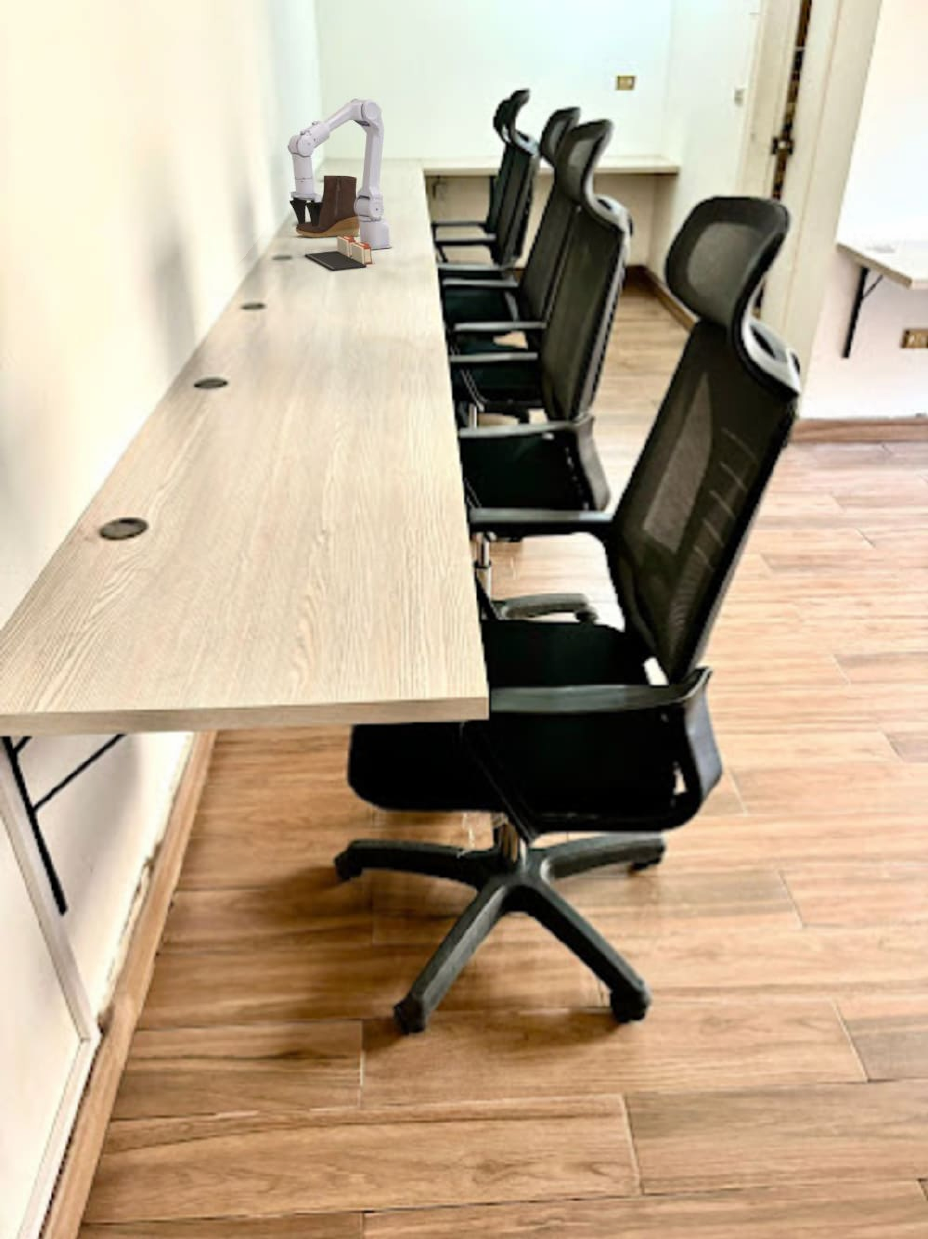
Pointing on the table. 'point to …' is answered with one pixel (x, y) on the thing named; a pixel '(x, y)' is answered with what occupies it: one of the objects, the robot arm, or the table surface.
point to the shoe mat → (335, 261)
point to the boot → (335, 210)
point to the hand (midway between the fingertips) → (308, 224)
